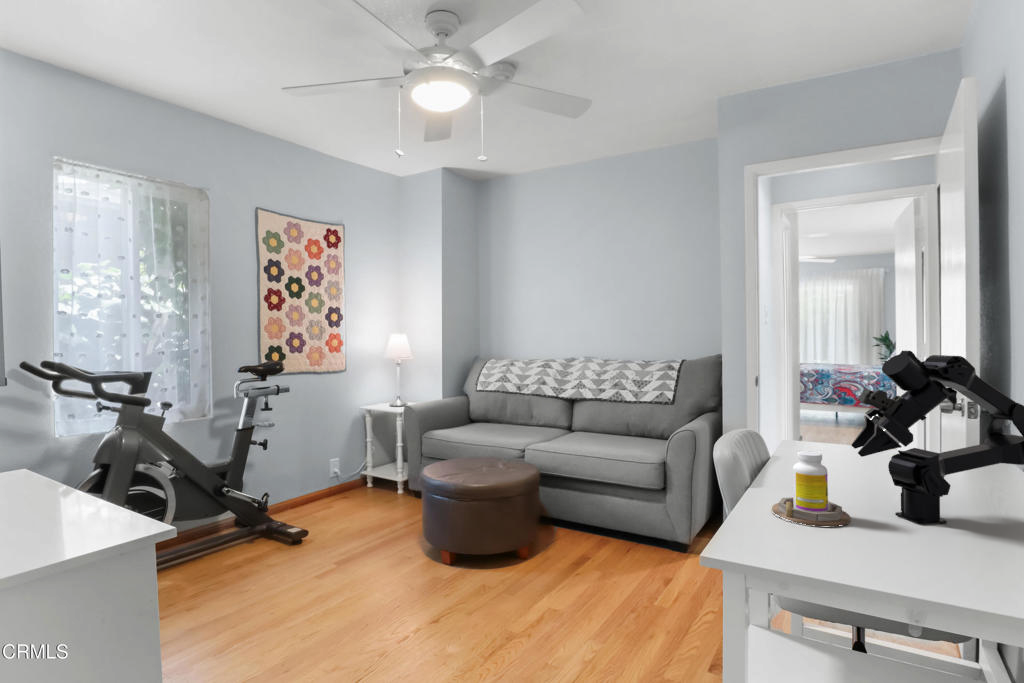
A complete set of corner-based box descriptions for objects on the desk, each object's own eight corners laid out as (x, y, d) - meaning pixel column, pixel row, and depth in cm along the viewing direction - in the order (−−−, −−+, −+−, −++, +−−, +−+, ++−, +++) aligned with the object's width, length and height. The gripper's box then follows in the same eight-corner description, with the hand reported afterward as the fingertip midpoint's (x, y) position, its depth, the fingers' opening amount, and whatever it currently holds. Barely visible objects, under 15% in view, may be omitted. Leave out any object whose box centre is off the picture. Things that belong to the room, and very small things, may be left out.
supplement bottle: (832, 517, 116) (831, 456, 116) (798, 515, 118) (797, 455, 118) (822, 508, 123) (821, 450, 123) (790, 506, 124) (789, 449, 124)
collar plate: (867, 525, 114) (867, 506, 114) (799, 529, 112) (799, 510, 112) (818, 503, 129) (818, 487, 129) (758, 506, 127) (758, 490, 127)
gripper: (876, 373, 129) (822, 418, 133) (893, 379, 112) (831, 430, 116) (917, 408, 125) (860, 453, 130) (941, 419, 108) (875, 471, 113)
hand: (856, 450), depth 122 cm, fingers open, 9 cm apart
